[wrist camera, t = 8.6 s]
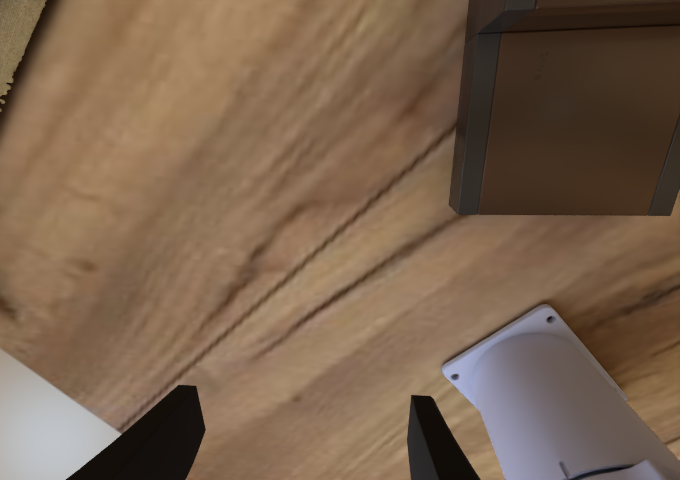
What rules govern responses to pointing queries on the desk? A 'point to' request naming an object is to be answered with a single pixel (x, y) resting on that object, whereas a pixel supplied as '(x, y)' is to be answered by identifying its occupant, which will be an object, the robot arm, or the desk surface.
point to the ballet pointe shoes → (15, 35)
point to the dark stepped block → (569, 108)
